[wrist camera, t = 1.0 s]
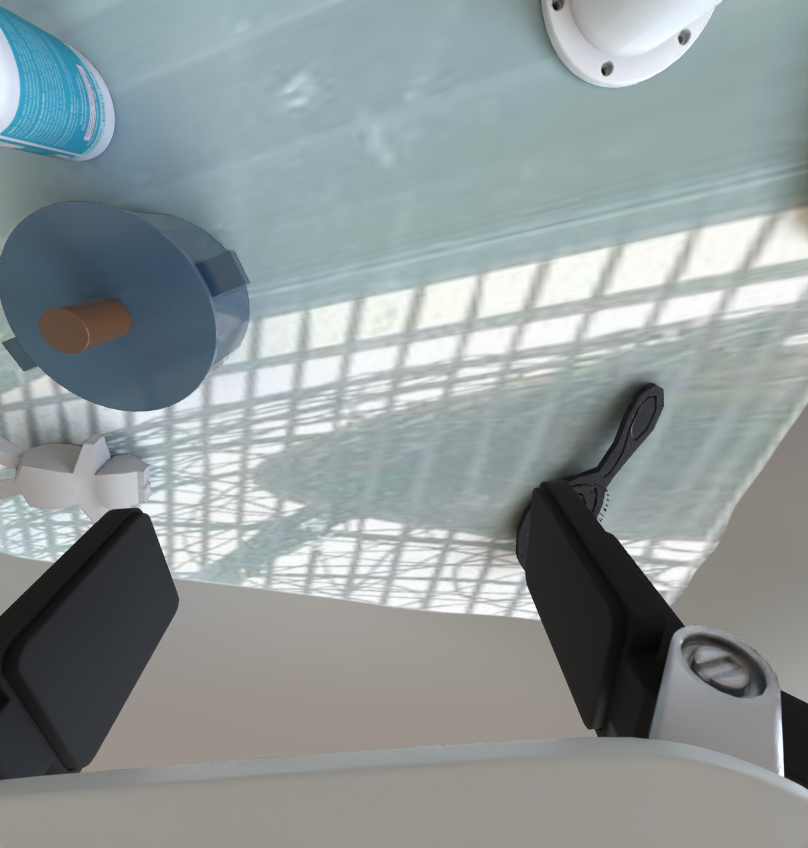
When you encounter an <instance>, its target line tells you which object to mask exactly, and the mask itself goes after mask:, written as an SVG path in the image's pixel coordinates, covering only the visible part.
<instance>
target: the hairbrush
mask: <svg viewBox="0 0 808 848" xmlns="http://www.w3.org/2000/svg"><path fill="white" fill-rule="evenodd" d="M651 396H652V397H651ZM663 407H664V393H663V389H662V388H661V387H659V386H657V385H655V384H651V383H650V384H648V385H647V386H646V387H644V388H643V389H642V390H640V391H639V392H638V393H636V394H635V396H634V398H633V399H632V401H631V403H630V405H629V406H628V408H627V410H626V412H625V414H624V415H623V418H622V421H621V423H620V426H619V429H618V431H617V434H616V437H615V439H614V442H613V443H612V445H611V446H610V448H609V449H608V451H607V452H606V454H605V455H604V457H603V459H602V460H601V462H600V463H599V465H598V466H597V467H596V468H593V469H591V470H588V471H585V472H583V473H580V474H577V475H574V476H571V477H568V478H565V479H562V480H559V481H563V480H565V481H567V482H568V483H569V484H570V485H571V486H572V488H573V489H574V490H575V492H576V493H577V494H578V496H579V497H580V498H581V500H582V501H583V502H584V504H585V505H586V506H587V507H588V509H589V510H590V511H591V513H592V514H593V515H594V517H595V518H596V519H597V516H598V514H599V513H600V509H601V507H602V505H603V500H604V495H605V491H607V490H606V487H607V486H608V484H609V483H610V482H611V480H612V479H613V477H614V476H615V475H616V474H617V472H618V471H619V470H620V469H621V467H622V466H623V465H624V464H625V463H626V461H627V460H628V459H629V458H630V457H631V455H632V454H633V453H634V452H635V451H636V449H637V448H638V447H639V446H640V445H641V444H642V442H643V441H644V440H645V439H646V438H647V437H648V435H649V434H650V433H651V432H652V431H653V430H654V427H655V425H656V423H657V421H658V418H659V416H660V414H661V412H662V409H663ZM591 485H592V486H593V487H594V489H593V488H592V487H591ZM580 493H582V494H583V496H582V495H580ZM607 495H608V494H607ZM608 496H609V495H608ZM607 500H608V499H607ZM608 501H609V500H608ZM604 504H605V503H604ZM606 506H608V505H606ZM531 507H532V502H531V503H530V504H529V505H528V507H527V508H526V509H525V511H524V514H523V516H522V518H521V521H520V523H519V526H518V528H517V540H516V556H517V559H518V561H519V563H520V564H521V566H522V567H523V569H524V570H525V572H526V561H527V550H528V539H529V528H530V517H531ZM604 511H606V509H605V510H604ZM600 514H601V513H600ZM601 515H602V514H601ZM602 516H603V515H602ZM599 518H600V517H599ZM601 520H602V519H601ZM601 520H600V522H601Z"/></svg>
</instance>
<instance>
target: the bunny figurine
mask: <svg viewBox="0 0 808 848" xmlns="http://www.w3.org/2000/svg"><path fill="white" fill-rule="evenodd" d="M0 464H2V465H5V466H8V467H11V468H15V469H16V475H15V479H8V480H0V500H3V499H7V498H10V497H13V496H17V495H20V494H22V495H23V496H24V498H25V500H26V501H27V503H28V504H29V506H30V507H35V508H40V509H62V508H67V507H71V506H74V505H78V506H79V507H80V508H81V509H82V510H83V512H84V513H85V514H86V515H87V516H88V518H89V519H90V520H91V521H92V522H93V523H94V522H97V521H98V520H99V519H100V518H101V517H102V516H103V515H104V514H105V513H106V512H108V511H109V510H111V509H121V508H126V507H129V506H132V505H134V504H137V503H145V502H146V501H147V500H148V498H149V497H150V495H151V487H150V482H149V481H148V479H149V478H150V464H144V463H142V462H141V461H140V460H139V459H138V458H137V457H135V456H133V455H131V454H121V455H118V456H114V457H111V455H110V452H109V450H108V447H107V444H106V441H105V438H104V435H100V434H96V433H95V434H94V435H93V436H92V437H90V438H89V439H88V440H87V441H86V442H85V443H84V444H83V446H82V447H80V446H76V445H71V444H63V443H50V444H46V445H42V446H38V447H34V448H30V449H26V450H25V449H23V448H21V447H19V446H17V445H15V444H13V443H11V442H10V441H8V440H6V439H4V438H2V437H0Z"/></svg>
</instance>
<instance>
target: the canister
mask: <svg viewBox="0 0 808 848" xmlns="http://www.w3.org/2000/svg"><path fill="white" fill-rule="evenodd" d="M128 212H129V211H128ZM130 213H133V214H135V215H137V216H139V217H141V218H142V219H144V220H146V221H148V222H150V223H151V224H153V225H154V226H155V227H157V228H158V229H160V230H161V231H163V232H164V233H165V234H166V235H167V236H169V237H170V238H171V239H172V240H173V241H174V242H176V244H177V245H178V246H179V247H180V248H181V249H182V250H183V251H184V252H185V253H186V254H187V255H188V257H189V258H190V259H191V261H192V262H193V263H194V265H195V266H196V267H197V269H198V270H199V272H200V274H201V275H202V277H203V279H204V280H205V282H206V285H207V287H208V289H209V291H210V293H211V296H212V299H213V302H214V305H215V308H216V313H217V318H218V327H219V341H218V349H217V354H216V358H215V361H214V364H213V366H212V369H211V371H210V372H209V374H210V373H212V372H213V371H214V370H216V369H217V368H218V367H219V366H221V365H222V364H223V363H224V362H225V361H226V360H227V359H228V358H229V357H230V356H231V355H232V354H233V353H234V352H235V351H236V350H237V348H238V347H239V346H240V345H241V342H242V340H243V338H244V336H245V333H246V331H247V326H248V322H249V299H248V293H247V289H246V286H245V285H248V284H250V281H249V279H248V277H247V275H246V273H245V271H244V269H243V267H242V265H241V263H240V261H239V259H238V257H237V255H236V253H235V251H234V250H232V251H226V250H225V249H224V248H223V247H222V246H221V244H220V243H219V242H217V241H216V240H215V239H214V238H213V237H212V236H211V235H209V234H208V233H206V232H205V231H204V230H202V229H201V228H199V227H197V226H195V225H194V224H192V223H190V222H187V221H185V220H182V219H180V218H177V217H175V216H173V215H168V214H155V213H142V212H130ZM2 344H3V345H4V347H5V348H6V349H7V351H8V352H9V353H10V354H11V356H12V357H13V358H14V360H15V361H16V362H17V363H18V365H19V366H20V367H21V368H22V370H23V371H27V370H30V369H33V368H35V367H38V365H37V364H36V363H35V362H34V361H33V360H32V359H31V358H30V356H29V355H28V354H27V353H26V352H25V350H24V349H23V347H22V346H21V344H20V343H19V341H18V340H17V338H16V337H14V338H12V339H9V340H7V341H4V342H2ZM209 374H208V375H209Z"/></svg>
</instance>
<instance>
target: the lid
mask: <svg viewBox="0 0 808 848" xmlns="http://www.w3.org/2000/svg"><path fill="white" fill-rule="evenodd" d="M0 299H1V302H2V306H3V310H4V313H5V315H6V318H7V320H8V323H9V325H10V327H11V329H12V331H13V333H14V335H15V336H16V338H17V340H18V341H19V343H20V344H21V346H22V347H23V349H24V350H25V352H26V353H27V354H28V355H29V356H30V358H31V359H32V360H33V361H34V362H35V363H36V364H37V365H38V366H39V367H40V368H41V369H42V370H43V371H44V372H45V373H46V374H47V375H48V376H49V377H51V378H52V379H53V380H54V381H56V382H57V383H58V384H60V385H61V386H63V387H64V388H66V389H67V390H69V391H70V392H72V393H74V394H76V395H77V396H79V397H81V398H83V399H85V400H88V401H90V402H92V403H95V404H98V405H101V406H104V407H107V408H112V409H117V410H122V411H133V412H136V411H152V410H158V409H162V408H165V407H169V406H171V405H173V404H176V403H178V402H180V401H181V400H183V399H185V398H186V397H188V396H189V395H190V394H192V393H193V392H194V391H195V390H196V389H197V388H198V387H199V386H200V385H201V384H202V383H203V381H204V380H205V379H206V377H207V376H208V374H209V372H210V371H211V369H212V366H213V364H214V361H215V358H216V354H217V349H218V341H219V327H218V318H217V313H216V308H215V305H214V302H213V299H212V296H211V293H210V291H209V289H208V287H207V285H206V282H205V280H204V279H203V277H202V275H201V274H200V272H199V270H198V269H197V267H196V266H195V265H194V263H193V262H192V261H191V259H190V258H189V257H188V255H187V254H186V253H185V252H184V251H183V250H182V249H181V248H180V247H179V246H178V245H177V244H176V242H174V241H173V240H172V239H171V238H170V237H169V236H167V235H166V234H165V233H164V232H163V231H161V230H160V229H158V228H157V227H155V226H154V225H153V224H151V223H150V222H148V221H146V220H144V219H142V218H141V217H139V216H137V215H135V214H133V213H130V212H128V211H125V210H123V209H120V208H117V207H113V206H110V205H106V204H101V203H93V202H85V201H78V202H63V203H57V204H53V205H50V206H47V207H44V208H41V209H39V210H38V211H36V212H34V213H32V214H30V215H29V216H28V217H26V218H25V219H24V220H23V221H22V222H20V223H19V224H18V225H17V227H16V228H15V229H14V230H13V232H12V233H11V234H10V236H9V238H8V240H7V241H6V243H5V245H4V248H3V251H2V254H1V257H0Z"/></svg>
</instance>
